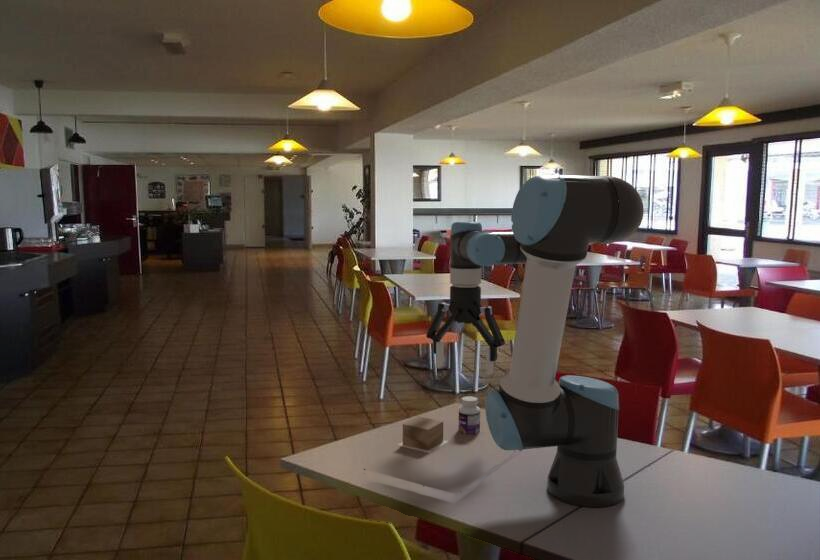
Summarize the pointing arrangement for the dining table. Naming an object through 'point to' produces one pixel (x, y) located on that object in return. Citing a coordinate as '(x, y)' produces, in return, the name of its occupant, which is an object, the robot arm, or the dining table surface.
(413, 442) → the walnut block
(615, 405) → the robot arm
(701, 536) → the dining table surface
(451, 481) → the dining table surface
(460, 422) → the pill bottle
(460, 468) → the dining table surface
